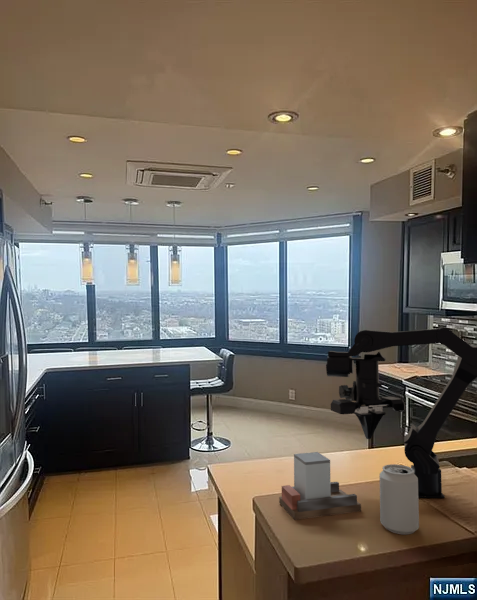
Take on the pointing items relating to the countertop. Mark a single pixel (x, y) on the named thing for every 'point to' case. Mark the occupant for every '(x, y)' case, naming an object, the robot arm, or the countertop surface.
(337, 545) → the countertop surface
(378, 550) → the countertop surface
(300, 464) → the grey rectangular box
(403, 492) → the can
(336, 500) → the grey rail holder
